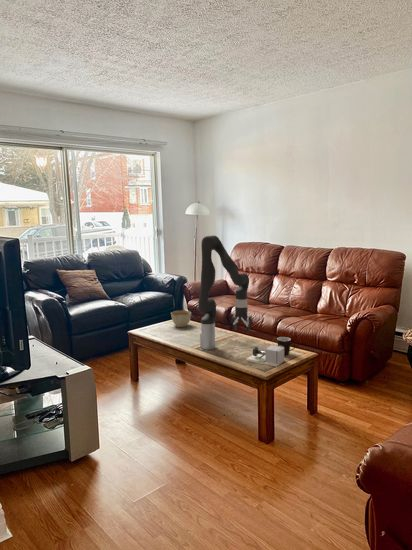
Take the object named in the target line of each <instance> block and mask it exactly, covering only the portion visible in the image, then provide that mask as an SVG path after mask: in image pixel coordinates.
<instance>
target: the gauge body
mask: <svg viewBox="0 0 412 550" xmlns="http://www.w3.org/2000/svg"><path fill="white" fill-rule="evenodd" d="M261 356H262V354H258V355H257V356H253V354H252V355H250V356H248V357H247V358H246V359H245V361H246V362H251V363H254V364H255V363H256V364H261V365H265V366H271V367H278V366H280V365H281V364H282V363H283V362H284V361H285V356H284V347H279V346H278V345H273V344H270V345H269V346H268V347H266V348H265V355H264V356H263V357H262V358H260V357H261Z"/></svg>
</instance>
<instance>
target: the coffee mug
mask: <svg viewBox="0 0 412 550" xmlns="http://www.w3.org/2000/svg"><path fill="white" fill-rule="evenodd" d="M276 339H277V340H276V341H277V346H279V347H284V357H288V356H290V352H291V351H293V350H294V349H296V347H297V345H296V344H295V343H294V342H291V341H292V339H291V338H290V337H286V336H279V337H277V338H276ZM291 344H292V345H294V347H293V348H292V349H291Z"/></svg>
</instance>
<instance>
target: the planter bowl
mask: <svg viewBox="0 0 412 550" xmlns="http://www.w3.org/2000/svg"><path fill="white" fill-rule="evenodd" d="M170 316H171V319H172V322H173V324H174V325H175V327H176V328H186V327H188V324H189V323H190V321H191V318H192V312H191V311H190V310H174V311H172V312H170Z"/></svg>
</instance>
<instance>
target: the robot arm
mask: <svg viewBox="0 0 412 550" xmlns="http://www.w3.org/2000/svg"><path fill="white" fill-rule="evenodd" d="M200 243H201V246H200V247H201V271H200V272H201V273H200V289H199V296H198V303H197V307H198V312H199V313H200V314H204V316H202V317H201V319H200V326H201V327H200V330H201V332H200V334H199V337H200V338H199V342H200V343H199V344H200V345H199V347H200V348H201V349H203V350H207V351H208V350H215V348H216V319H217V303H216V300H215V299H213V298H212V297H211V298H210V297H209V295H210V292H211V289H212V288H213V286H214V284H215V282H216V281H215V280H216V268H215V266H214V263H213V259H212V254H213V253H212V252H213V251H215V252H216V253H217V254H218V256H219V259H220V262H221V265H222V267H223V268H224V269H225V271H226V272H227V273H228V275H229V277H230V279H231V281H232V283H233V284H234V285H235V286H238V288H237V289H236V290H235V301H234V302H235V303H234V304H235V305H234V309H235V310H234V312H235V313H234V312H233V313H230V324H232V325H233V327H232V328H233V331H237V329H238V323H240V322H241V323H243V324H244V325H245V326H246V327H245V328H246V329H245V332H246V333H249V332H250V327H252V326H253V325H254V324H253V323H254V321H253V316H252V315H248V311H249V309H248V290H249V285H250V278H249V275H248V274H247V273H243V272H242V273H240V272H239V266H238V265H237V264H236V262H235V261H234V260H233V258H232V257H231V256H230V255H229V254H228V253H229V252H228V251H227V249H226V248H225V247H224V245H223V243H222V241H221V240H220V238H219V237H218V236H217V235H206V236H204V237H202V239H201V242H200Z"/></svg>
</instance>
